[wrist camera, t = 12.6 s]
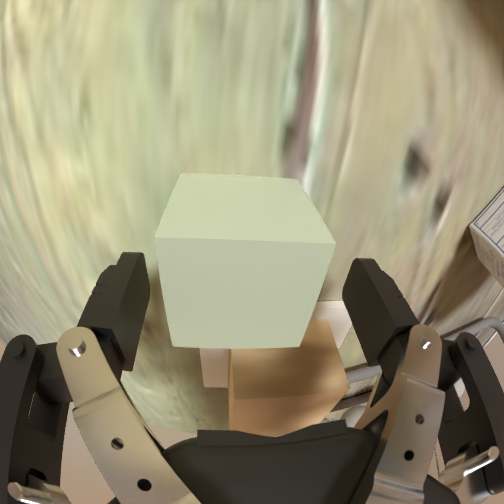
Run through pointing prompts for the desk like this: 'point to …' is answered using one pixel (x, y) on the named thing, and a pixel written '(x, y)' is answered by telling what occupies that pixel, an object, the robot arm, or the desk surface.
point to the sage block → (240, 261)
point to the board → (334, 311)
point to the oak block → (285, 384)
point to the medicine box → (491, 237)
